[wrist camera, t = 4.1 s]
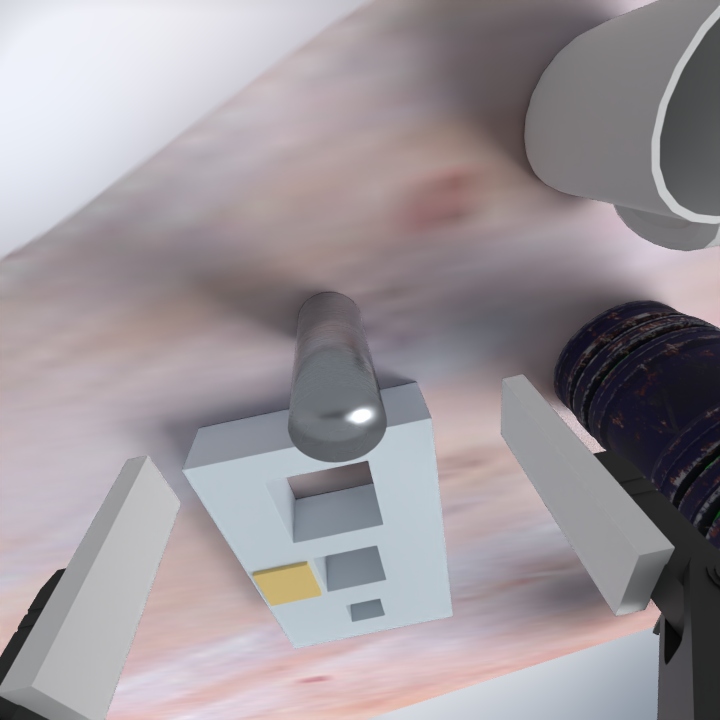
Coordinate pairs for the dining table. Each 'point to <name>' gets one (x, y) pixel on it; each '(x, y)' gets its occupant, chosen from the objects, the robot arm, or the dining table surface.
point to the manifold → (331, 524)
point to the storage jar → (652, 400)
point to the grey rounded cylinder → (334, 383)
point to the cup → (638, 121)
